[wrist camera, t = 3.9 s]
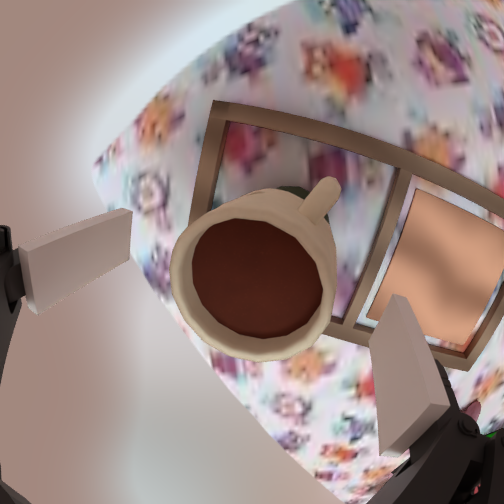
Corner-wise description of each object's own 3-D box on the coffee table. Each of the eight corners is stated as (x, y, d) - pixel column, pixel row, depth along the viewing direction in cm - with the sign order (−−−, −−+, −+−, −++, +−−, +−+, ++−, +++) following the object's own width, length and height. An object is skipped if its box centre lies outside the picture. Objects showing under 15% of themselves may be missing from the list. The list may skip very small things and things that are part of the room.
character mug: (297, 143, 21) (254, 121, 9) (367, 201, 21) (410, 253, 9) (221, 243, 25) (132, 316, 13) (283, 294, 25) (240, 401, 13)
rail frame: (217, 102, 21) (213, 100, 20) (535, 222, 16) (541, 224, 15) (184, 279, 28) (179, 283, 27) (465, 366, 22) (468, 371, 21)
